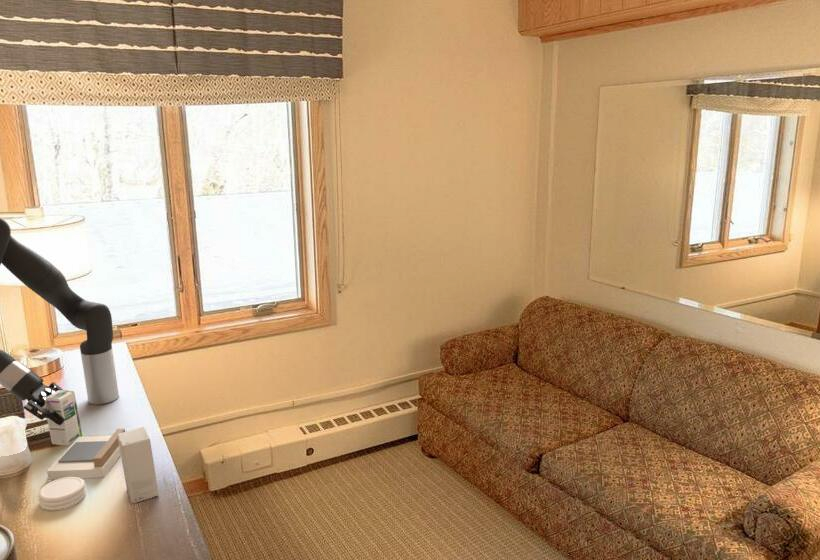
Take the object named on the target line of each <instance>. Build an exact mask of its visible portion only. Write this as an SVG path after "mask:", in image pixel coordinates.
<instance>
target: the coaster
mask: <svg viewBox="0 0 820 560" xmlns="http://www.w3.org/2000/svg"><path fill="white" fill-rule="evenodd" d="M86 496H87V489H86V482H85V479H84V478H78V477H65V478H60V479H57V480H51V481H50V482H48V483H46V484H45V485H43V487H41V488H40V489H39V491H38V501H39V506H40V508H41V509H43V510H44V509H45V510H44V511H48V510H51V511H50V512H55V510H57V511H62V509H63V510H66V509H69V508H71V506H72V507H74V506H75V505H77V503H78V504H79V503H81V502H82V501H83V500H84V499H85V497H86ZM65 508H66V509H65Z"/></svg>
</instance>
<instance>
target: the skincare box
mask: <svg viewBox="0 0 820 560" xmlns="http://www.w3.org/2000/svg"><path fill="white" fill-rule="evenodd" d="M117 435H118V442H119V447H120V453H121V456H120V458H121V463H122V470H123V474H124V475H123V476H124V481H125V485H126V491H127V494H128V497H129V499H130V501H131V502H130V503H131V504H137V502H138V503H140V501H141V502H143V500H144V501H146V499H147V500H150V499H153V498H155V496H156V497H159V495H160V494H159V488H158V482H157V480H158V479H157V476H156V475H157V474H156V470H155V469H156V468H155V464H154V456H153V451H152V450H153V449H152V444H151V438H150V436H149V434H148V432H147V430H146V429H145V427H144V426H141V427H138V428H135V429H131V430H127V431H126V430H125V432H123V433H119V434H117ZM152 497H153V498H152ZM149 498H150V499H149Z"/></svg>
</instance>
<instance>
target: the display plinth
mask: <svg viewBox="0 0 820 560" xmlns="http://www.w3.org/2000/svg"><path fill="white" fill-rule="evenodd" d="M123 432H126V428H117V429H116V431H115V432H113V434H112V435H97V436H95V435H94V436H82V437H78V438H77V439H76V441H74V442H73V443H71V444H70V445H69V446H68V448H67V449H66V450H65V451H64V452H63V453H62V454H61V456H59V458H58V459H57V460H56V461H55V462H54V463H53V464H52V465H51V466H50V467H49V468H48V470H46V473H47V479H48V480H49V481H54V480H57V479H60V478H65V477H78V478H81V479H96V478H97V479H100V478H105V477H106V476H107V474H108V473H109V472H110V470H111V469H112V467H114V465H115V463H116V462H117V461H118V460H119V458H121V453H120V447H119V442H118V435H117V434H119V433H123Z"/></svg>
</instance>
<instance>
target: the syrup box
mask: <svg viewBox="0 0 820 560" xmlns="http://www.w3.org/2000/svg"><path fill="white" fill-rule="evenodd" d="M46 400H47V401H48V402H49V403H50V404H51V408H52V409H53V411H54V412H56V413H58V414H59V415H60V416H62V417H63V418H64V419H65V421H64V422H63V423H62V424H61V425H58V424H56V423H55V422H53V421H52V420H51V419H49V418H46V420H47V425H48V429H49V430H48V431H49V435H50V436H49V437H50V442H51V444H52V445H57V446H68V447H70V446H71V445H72V444H73V443H74V442H75V441H76V439H77V438H78V437H83V433H82V426H81V419H80V416H79V410H78V405H77V398H76V394H75V391H73V390H66V389H63V390H58V391H56V392H55V393H53V394H51V395H49V396H48V397H47V398H46ZM46 411H48V410H46ZM54 412H53V413H54Z"/></svg>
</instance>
